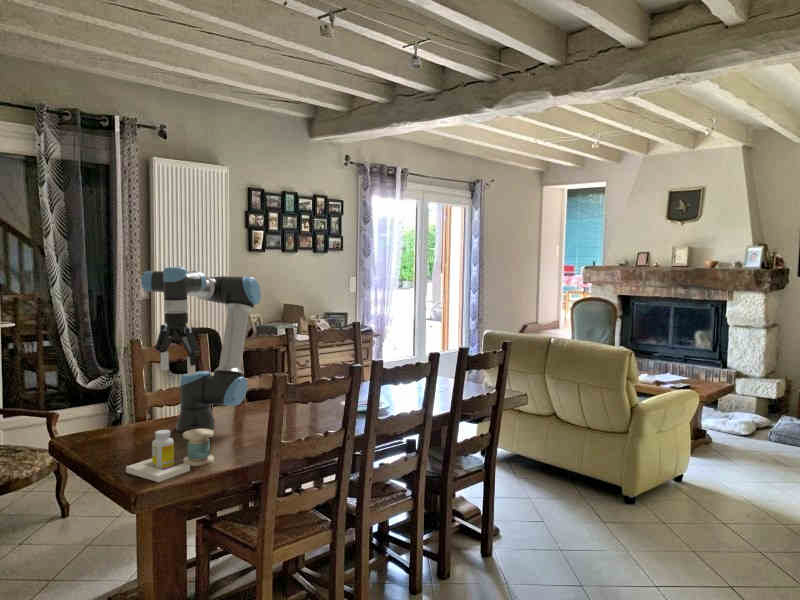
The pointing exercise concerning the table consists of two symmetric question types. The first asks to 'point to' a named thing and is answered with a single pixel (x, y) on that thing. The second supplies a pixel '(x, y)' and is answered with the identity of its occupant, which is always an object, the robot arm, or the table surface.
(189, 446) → the bobbin
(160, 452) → the supplement bottle
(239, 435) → the table surface
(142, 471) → the notched board
